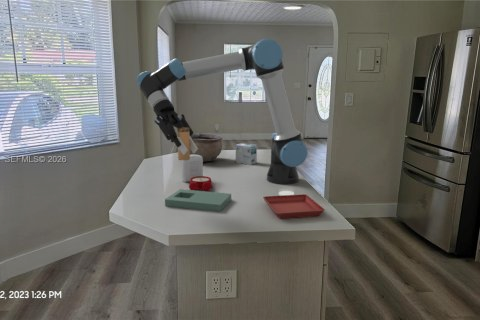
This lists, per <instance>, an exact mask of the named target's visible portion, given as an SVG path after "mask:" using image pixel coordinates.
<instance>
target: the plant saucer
mask: <svg viewBox="0 0 480 320" xmlns="http://www.w3.org/2000/svg"><path fill="white" fill-rule="evenodd" d="M262 198H263V200H264V202H265V204H267V206H268V207H269V209H271V210H272V212H273V213H274V214H275V215H276V216H277V217H278V219H292V218H293V219H294V218H295V219H296V218H306V217H308V218H310V217H318V216H320V215H321V214H323V213H324V212H325V211H326V209H325V208H324V207H323V206H321V205H320V204H319V203H318V202H317V201H315V200H314V199H312V197H310V196H309V195H307V194H305V193H304V194H286V195H285V194H283V195H270V196H269V195H267V196H263V197H262Z"/></svg>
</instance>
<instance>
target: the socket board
mask: <svg viewBox="0 0 480 320" xmlns="http://www.w3.org/2000/svg"><path fill="white" fill-rule="evenodd" d="M230 201H232V193H225V192H217V191H216V192H215V191H214V192H213V191H204V190H197V191H195V190H190V189H183V188H180V189H178V190H177V191H175V192H174V193H173V194H171V195H169V196H168V197H166V198H165V199H164V206H165V207H174V208H183V209H184V208H186V209H193V210H194V209H195V210H203V211H210V212H211V211H213V212H222V210H223V209H224V208H225V207H226V206H228V204H229V203H230Z"/></svg>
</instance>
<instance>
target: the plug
mask: <svg viewBox="0 0 480 320" xmlns="http://www.w3.org/2000/svg"><path fill="white" fill-rule="evenodd" d="M178 137H180V138H181V140H182V141H183V143H184V145H185V146H186V148H187V150H188V151H187V152H186V154H185V155H183V154H182V152H181V151H180V149H179V148H178V147H177V160H178V161H182V160H189V159H190V138H189V128H188V127H180V128H178V129H177V138H178Z"/></svg>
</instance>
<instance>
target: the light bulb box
mask: <svg viewBox="0 0 480 320" xmlns="http://www.w3.org/2000/svg"><path fill="white" fill-rule="evenodd" d="M257 149H258V146H257V144H251V143H243V142H242V143H238V144H235V164H241V163H243V165H248V164H249V165H250V166H251V165H255V164H257V159H258V158H257V156H258V154H257V152H258V151H257Z"/></svg>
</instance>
